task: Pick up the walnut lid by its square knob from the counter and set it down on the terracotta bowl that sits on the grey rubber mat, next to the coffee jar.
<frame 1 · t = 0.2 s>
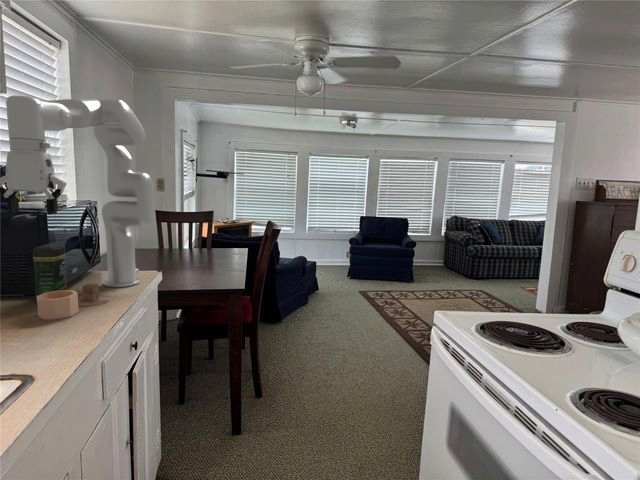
hand: (33, 213, 105), 31 cm above the worktop, tool pointing down, fingers open, 9 cm apart
coffee jar: (52, 299, 132), on the worktop
lid: (91, 303, 130), on the worktop
bowl: (58, 314, 117), resting on mat
mat: (59, 315, 117), on the worktop
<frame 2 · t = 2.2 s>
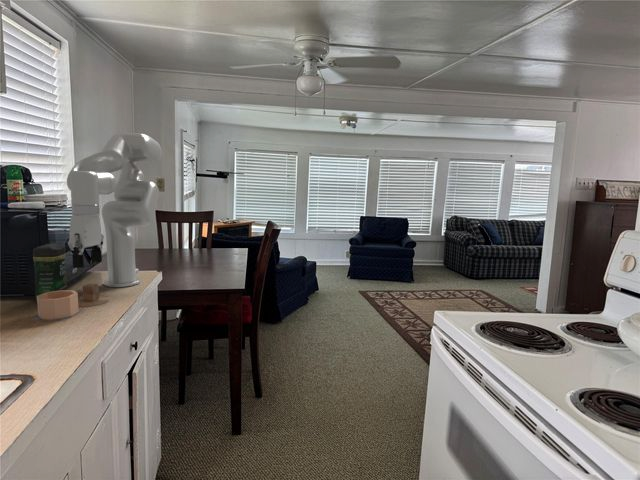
hand: (88, 264, 127), 13 cm above the worktop, tool pointing down, fingers open, 9 cm apart
nothing on the worktop moved.
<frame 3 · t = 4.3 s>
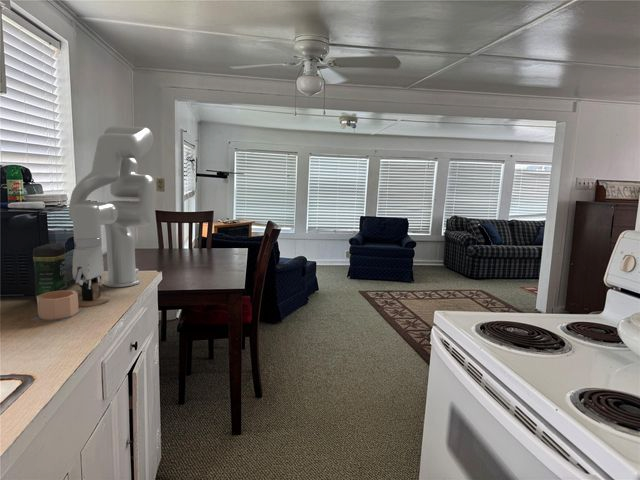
hand: (91, 298, 130), 1 cm above the worktop, tool pointing down, fingers closed on lid, 3 cm apart
lid: (91, 302, 130), on the worktop, touching gripper
everything else where it was.
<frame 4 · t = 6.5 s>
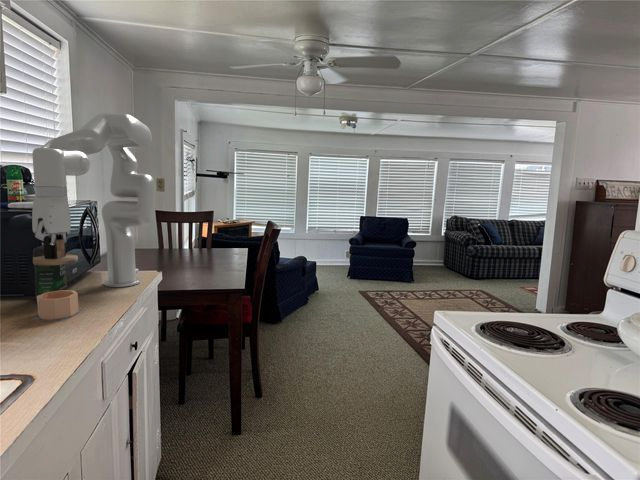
hand: (55, 256, 114), 18 cm above the worktop, tool pointing down, fingers closed on lid, 3 cm apart
lid: (56, 261, 115), point 16 cm above the worktop, touching gripper
everything else where it was.
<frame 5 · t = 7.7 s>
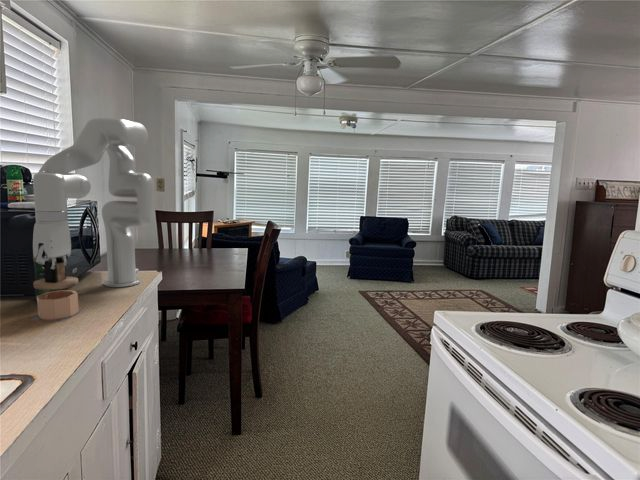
hand: (56, 280, 115), 11 cm above the worktop, tool pointing down, fingers closed on lid, 3 cm apart
lid: (56, 284, 115), point 9 cm above the worktop, touching gripper
everything else where it was.
when the fingers open (9 cm above the worktop, at t = 8.7 s): lid drops 1 cm, resting on bowl.
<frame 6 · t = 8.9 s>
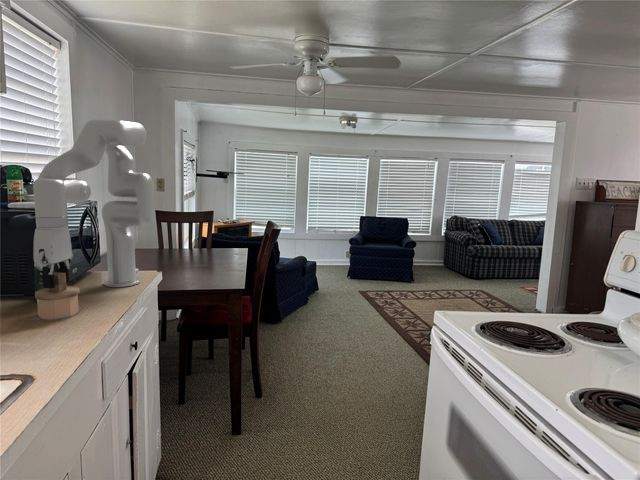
hand: (56, 284, 115), 9 cm above the worktop, tool pointing down, fingers open, 5 cm apart
lid: (57, 294, 116), point 6 cm above the worktop, touching bowl
everything else where it was.
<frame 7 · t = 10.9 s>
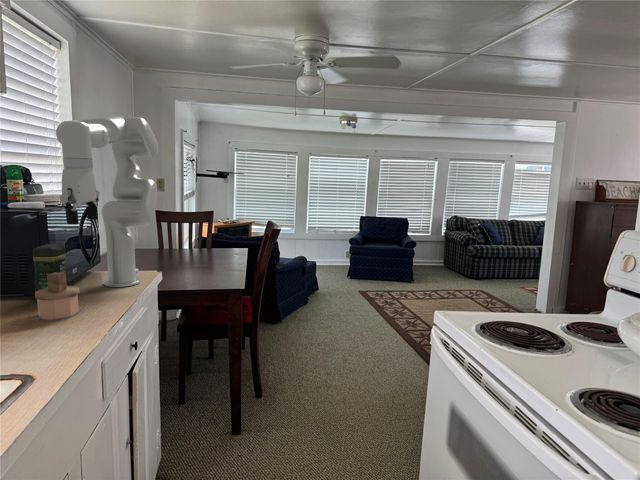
hand: (83, 221, 122), 27 cm above the worktop, tool pointing down, fingers open, 9 cm apart
nothing on the worktop moved.
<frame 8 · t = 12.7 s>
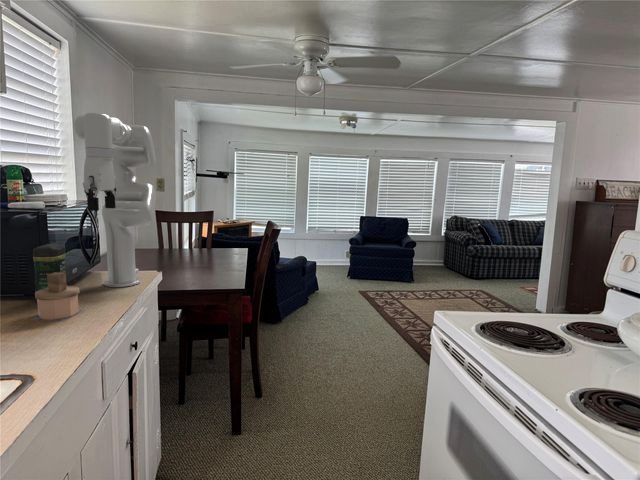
hand: (102, 209, 127), 30 cm above the worktop, tool pointing down, fingers open, 9 cm apart
nothing on the worktop moved.
at the end: lid 0.1 cm off-centre on the bowl, point 6.0 cm above the bowl's base; lid tilted 0°; the gripper is holding nothing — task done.
